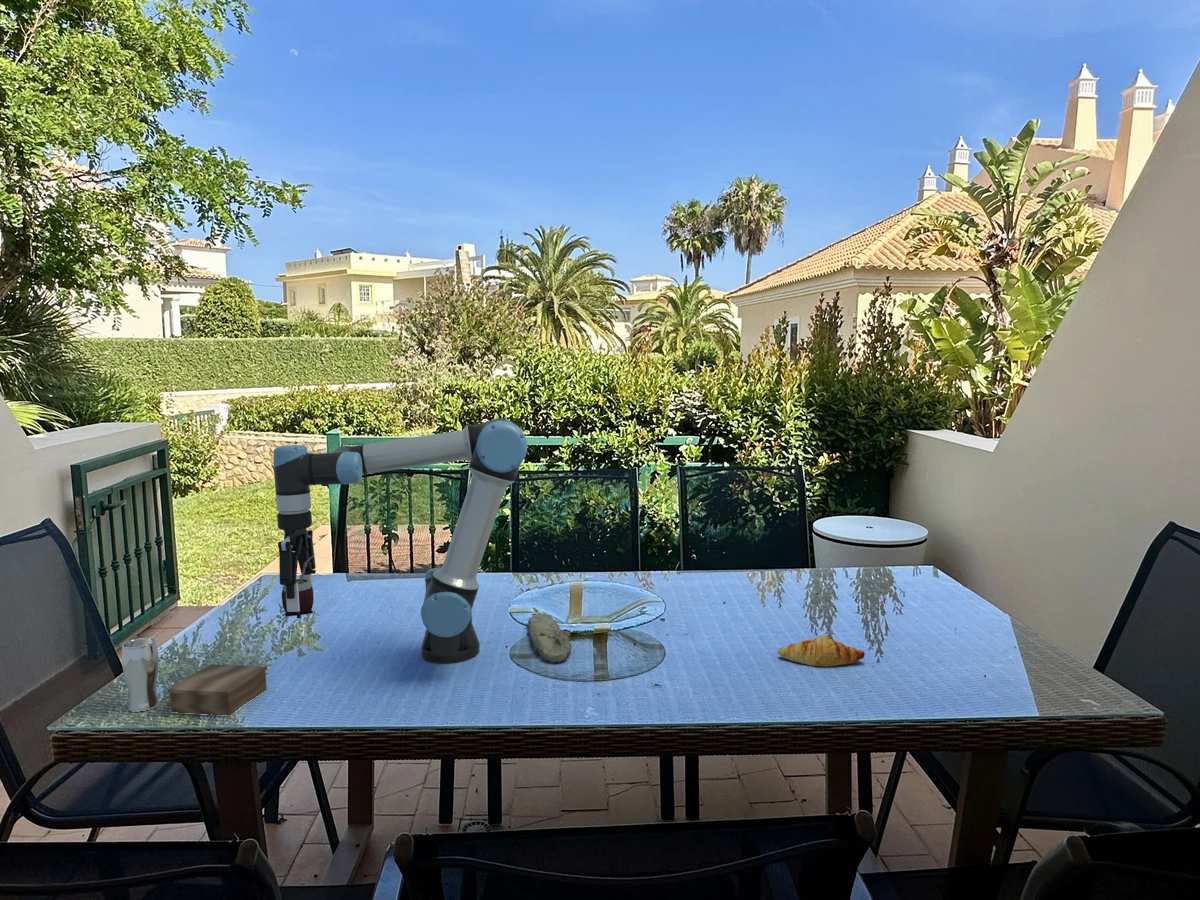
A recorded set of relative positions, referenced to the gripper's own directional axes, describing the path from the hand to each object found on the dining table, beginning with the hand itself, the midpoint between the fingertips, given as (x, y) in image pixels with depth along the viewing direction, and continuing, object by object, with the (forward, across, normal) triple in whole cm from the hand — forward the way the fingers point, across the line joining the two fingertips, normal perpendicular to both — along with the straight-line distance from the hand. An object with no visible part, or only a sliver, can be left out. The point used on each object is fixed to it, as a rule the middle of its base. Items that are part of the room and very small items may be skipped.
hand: (300, 605), depth 182 cm
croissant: (+21, -15, +126) cm, 129 cm away
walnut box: (+19, +10, -15) cm, 27 cm away
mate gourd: (+2, 0, 0) cm, 2 cm away
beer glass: (+19, +13, -31) cm, 39 cm away
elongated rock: (+20, -29, +56) cm, 66 cm away
